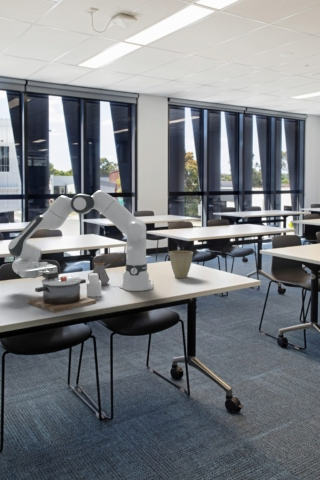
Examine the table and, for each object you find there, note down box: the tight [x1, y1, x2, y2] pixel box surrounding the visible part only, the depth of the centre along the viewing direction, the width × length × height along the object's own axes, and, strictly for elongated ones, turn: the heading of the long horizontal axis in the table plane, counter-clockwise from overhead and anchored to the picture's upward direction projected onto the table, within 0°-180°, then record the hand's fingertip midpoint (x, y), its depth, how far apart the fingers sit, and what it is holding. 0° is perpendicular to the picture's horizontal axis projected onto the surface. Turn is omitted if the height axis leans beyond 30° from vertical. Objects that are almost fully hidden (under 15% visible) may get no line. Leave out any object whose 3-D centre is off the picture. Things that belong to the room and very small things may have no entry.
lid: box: [41, 271, 82, 286], centre depth 227 cm, size 22×19×3 cm
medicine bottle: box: [86, 271, 102, 298], centre depth 243 cm, size 7×7×12 cm
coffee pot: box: [92, 256, 124, 287], centre depth 270 cm, size 21×12×15 cm, turn 120°
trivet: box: [27, 294, 97, 314], centre depth 228 cm, size 24×24×2 cm
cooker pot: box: [34, 278, 87, 305], centre depth 227 cm, size 18×28×9 cm, turn 136°
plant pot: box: [168, 250, 194, 279], centre depth 288 cm, size 15×15×16 cm
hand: (46, 273), depth 235 cm, fingers closed
